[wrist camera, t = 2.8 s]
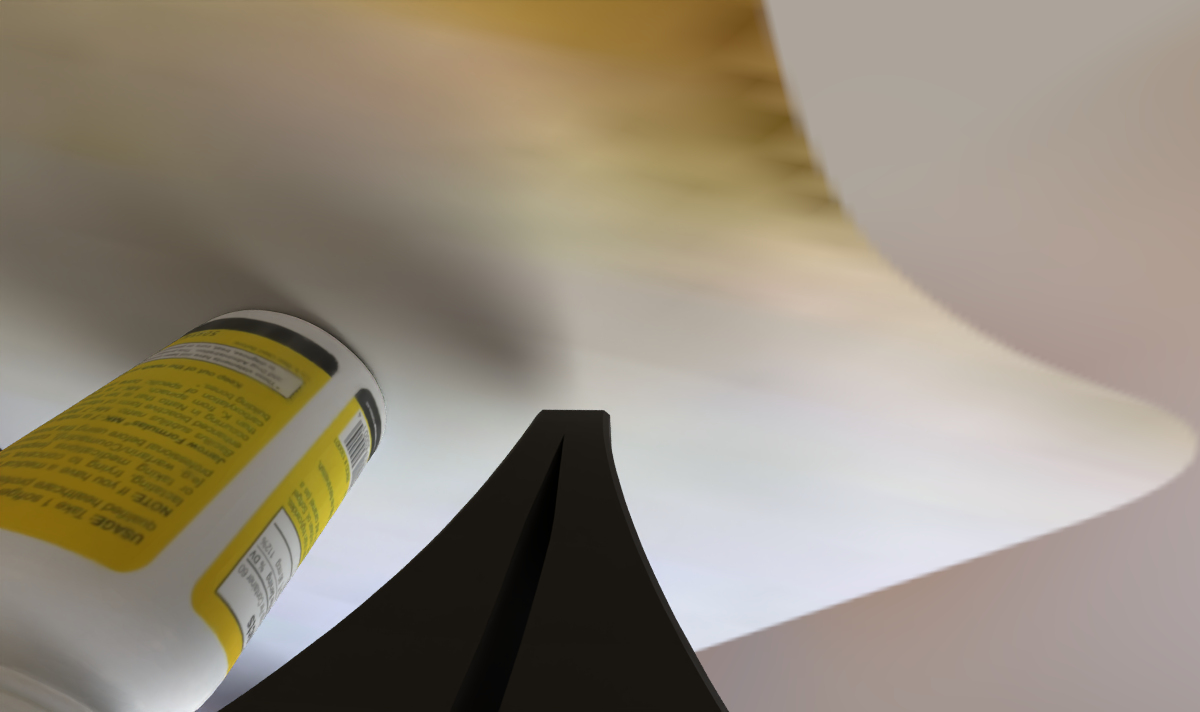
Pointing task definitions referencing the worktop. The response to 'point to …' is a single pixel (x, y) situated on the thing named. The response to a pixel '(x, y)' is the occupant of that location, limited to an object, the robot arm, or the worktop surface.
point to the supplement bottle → (174, 513)
